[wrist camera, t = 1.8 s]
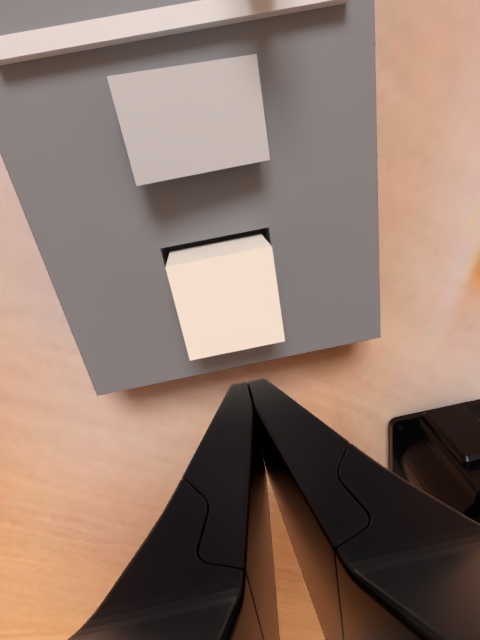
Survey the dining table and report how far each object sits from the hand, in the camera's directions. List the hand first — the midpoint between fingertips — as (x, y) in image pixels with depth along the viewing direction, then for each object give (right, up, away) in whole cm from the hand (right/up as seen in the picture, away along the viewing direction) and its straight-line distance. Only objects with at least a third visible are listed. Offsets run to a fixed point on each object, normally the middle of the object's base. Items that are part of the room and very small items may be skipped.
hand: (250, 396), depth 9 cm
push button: (-1, +3, +8) cm, 8 cm away
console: (-2, +10, +8) cm, 13 cm away
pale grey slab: (-2, +9, +4) cm, 10 cm away
